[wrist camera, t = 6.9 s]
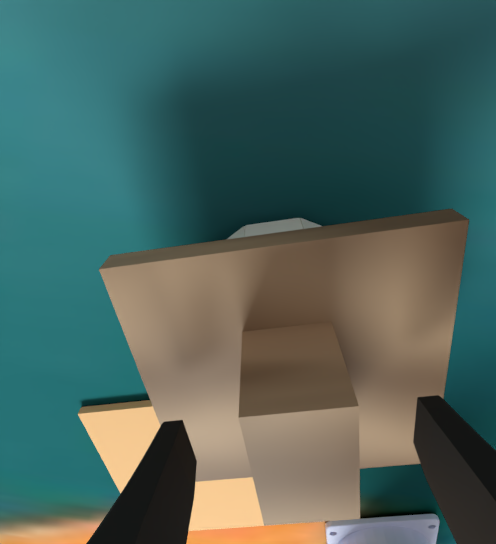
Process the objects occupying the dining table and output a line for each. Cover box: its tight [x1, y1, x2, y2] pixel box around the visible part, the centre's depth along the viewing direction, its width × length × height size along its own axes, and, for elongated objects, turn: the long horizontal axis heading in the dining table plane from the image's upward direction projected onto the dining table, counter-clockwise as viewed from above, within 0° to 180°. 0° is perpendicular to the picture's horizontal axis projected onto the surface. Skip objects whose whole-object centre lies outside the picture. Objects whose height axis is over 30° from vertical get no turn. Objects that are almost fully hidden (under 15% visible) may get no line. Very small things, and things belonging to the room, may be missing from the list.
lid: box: [99, 209, 469, 526], centre depth 12 cm, size 11×11×4 cm
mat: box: [78, 400, 309, 531], centre depth 23 cm, size 13×13×1 cm
